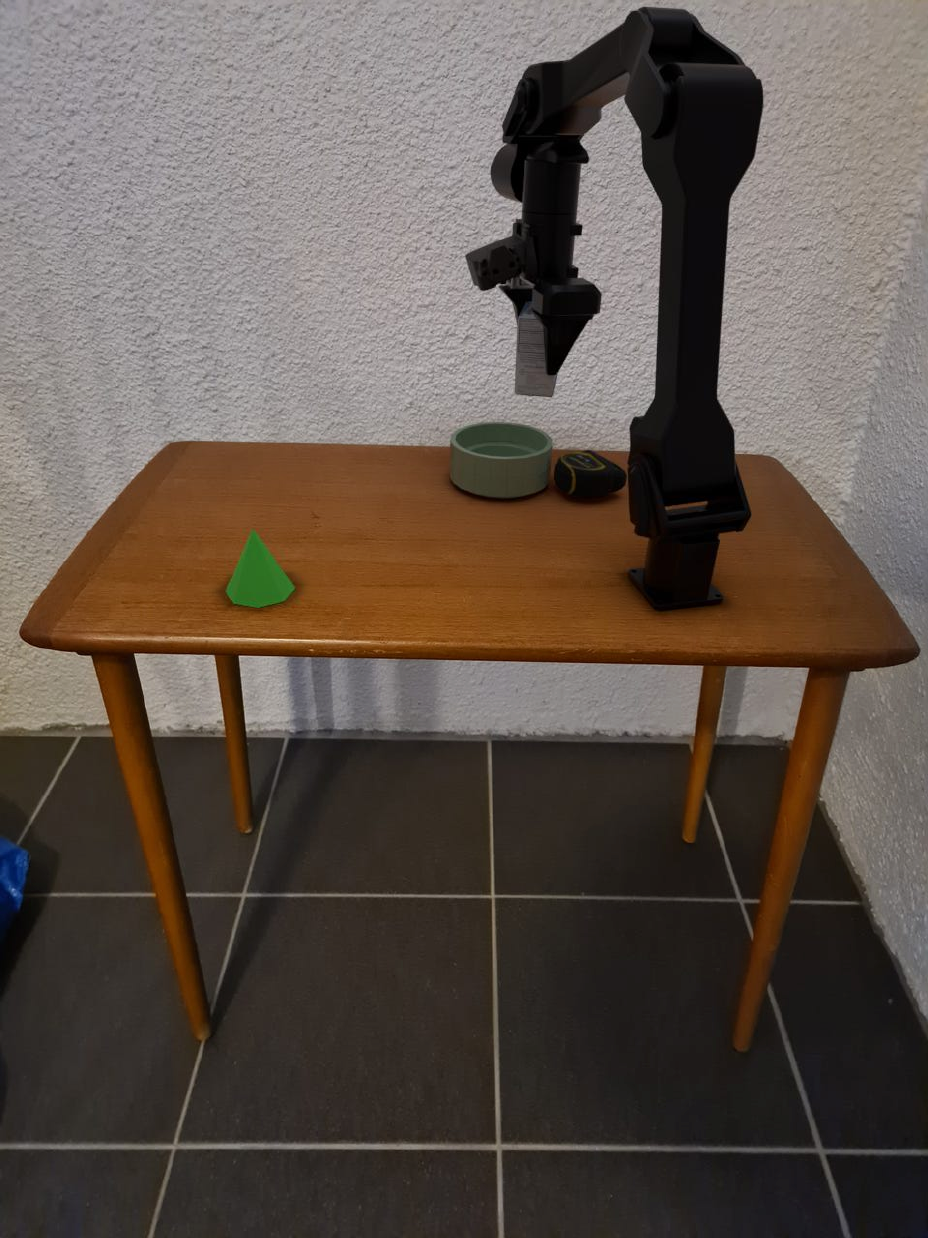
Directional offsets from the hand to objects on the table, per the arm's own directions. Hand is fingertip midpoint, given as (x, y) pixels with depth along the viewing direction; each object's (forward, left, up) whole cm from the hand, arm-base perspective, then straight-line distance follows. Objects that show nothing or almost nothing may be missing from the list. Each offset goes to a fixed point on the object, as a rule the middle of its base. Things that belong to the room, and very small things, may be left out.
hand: (538, 363), depth 94 cm
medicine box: (0, 0, -3) cm, 3 cm away
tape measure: (-10, -3, -11) cm, 16 cm away
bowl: (-6, +6, -11) cm, 14 cm away
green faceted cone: (-25, +33, -11) cm, 43 cm away
